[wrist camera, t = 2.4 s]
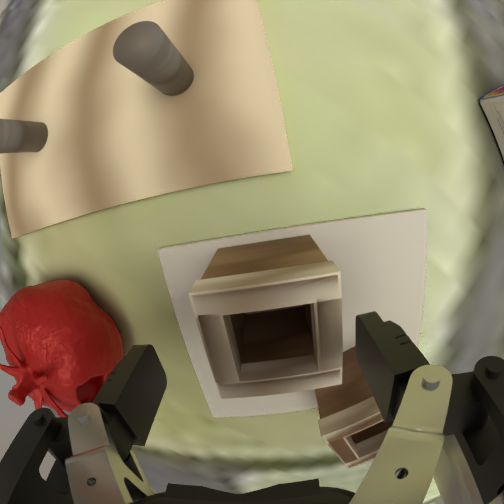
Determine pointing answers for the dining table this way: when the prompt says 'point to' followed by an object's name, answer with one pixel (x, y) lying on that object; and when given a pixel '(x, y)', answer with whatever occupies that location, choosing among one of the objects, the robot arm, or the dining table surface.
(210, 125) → the pin board
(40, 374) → the pomegranate
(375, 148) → the dining table surface
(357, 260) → the mat
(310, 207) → the dining table surface
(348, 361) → the sleeve
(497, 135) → the ink cartridge box
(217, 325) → the sleeve
